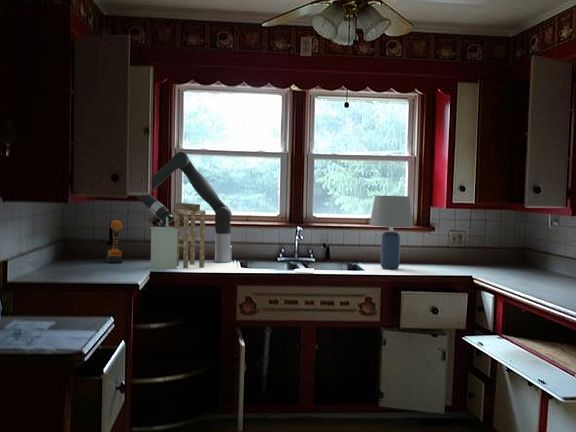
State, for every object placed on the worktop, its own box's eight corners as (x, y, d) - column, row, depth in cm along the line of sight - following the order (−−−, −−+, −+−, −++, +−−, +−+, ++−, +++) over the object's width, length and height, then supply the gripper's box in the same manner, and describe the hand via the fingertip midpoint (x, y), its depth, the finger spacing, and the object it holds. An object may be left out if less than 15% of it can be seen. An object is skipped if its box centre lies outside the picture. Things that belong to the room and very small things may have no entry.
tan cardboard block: (181, 208, 345) (181, 202, 344) (199, 210, 321) (200, 204, 321) (175, 208, 343) (175, 202, 343) (194, 210, 319) (194, 204, 319)
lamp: (416, 272, 330) (419, 196, 328) (372, 271, 328) (375, 195, 326) (405, 266, 355) (407, 196, 353) (364, 265, 354) (366, 195, 352)
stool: (193, 264, 340) (194, 209, 338) (204, 267, 326) (205, 210, 325) (173, 265, 333) (174, 209, 332) (184, 268, 320) (185, 210, 318)
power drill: (104, 259, 351) (105, 218, 349) (117, 259, 354) (118, 218, 352) (109, 264, 331) (110, 220, 330) (123, 263, 334) (123, 220, 333)
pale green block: (168, 265, 331) (168, 226, 330) (177, 268, 319) (178, 228, 318) (150, 266, 325) (150, 227, 324) (158, 269, 313) (159, 229, 312)
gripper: (167, 208, 354) (186, 225, 351) (149, 220, 346) (168, 238, 343) (169, 200, 349) (188, 218, 345) (151, 213, 340) (170, 231, 337)
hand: (178, 228), depth 344 cm, fingers open, 8 cm apart
